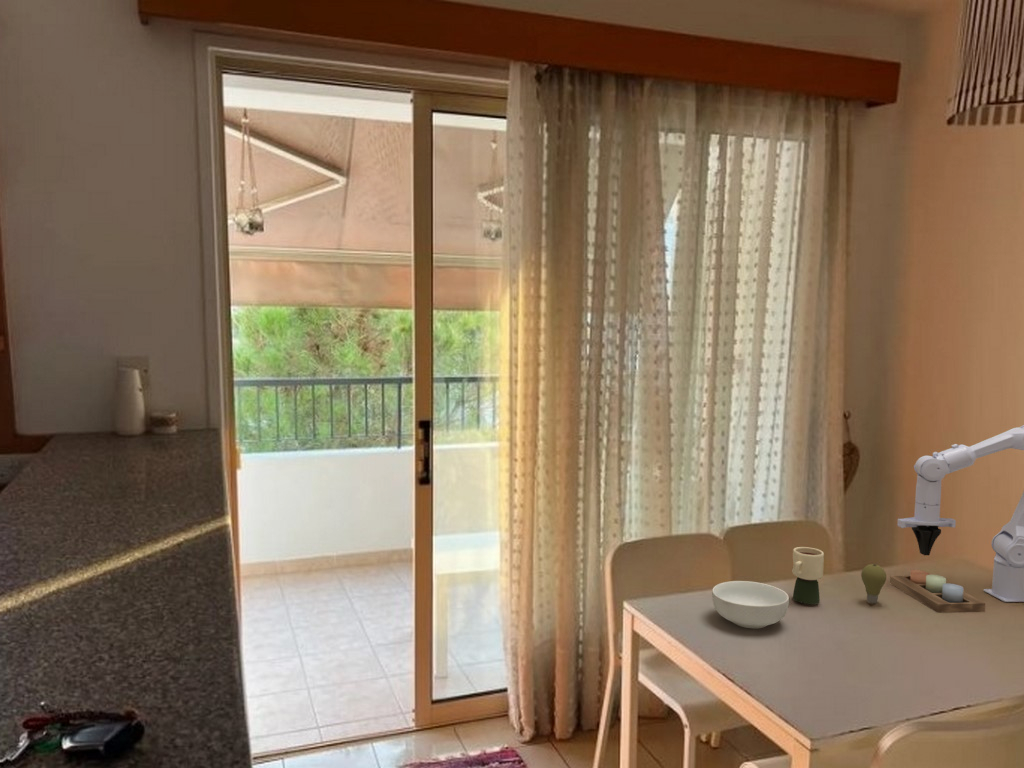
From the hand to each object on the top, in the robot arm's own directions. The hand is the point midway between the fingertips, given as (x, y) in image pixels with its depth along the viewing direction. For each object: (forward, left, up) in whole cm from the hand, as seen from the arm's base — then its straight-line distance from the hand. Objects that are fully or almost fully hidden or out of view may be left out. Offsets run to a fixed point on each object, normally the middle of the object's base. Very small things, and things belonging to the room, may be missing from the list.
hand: (924, 554), depth 198 cm
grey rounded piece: (0, +12, -8) cm, 14 cm away
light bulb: (+19, +9, -10) cm, 23 cm away
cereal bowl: (+54, +18, -10) cm, 58 cm away
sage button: (0, +5, -8) cm, 9 cm away
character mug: (+35, +7, -10) cm, 37 cm away
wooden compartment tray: (0, +5, -9) cm, 11 cm away
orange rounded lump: (0, -1, -9) cm, 9 cm away
